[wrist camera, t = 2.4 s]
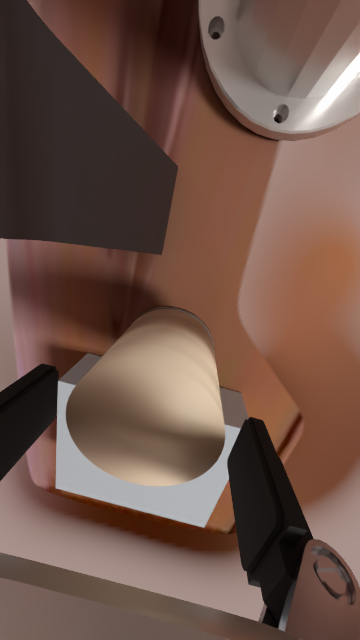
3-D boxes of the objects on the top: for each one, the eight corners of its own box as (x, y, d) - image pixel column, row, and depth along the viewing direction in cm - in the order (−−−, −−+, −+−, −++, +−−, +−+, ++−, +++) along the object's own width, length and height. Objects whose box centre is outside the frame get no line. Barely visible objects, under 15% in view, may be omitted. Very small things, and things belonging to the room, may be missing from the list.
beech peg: (147, 285, 17) (66, 340, 7) (220, 304, 17) (252, 389, 7) (135, 349, 19) (62, 465, 9) (200, 366, 19) (200, 501, 9)
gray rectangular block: (87, 353, 20) (57, 380, 16) (241, 392, 20) (252, 431, 16) (80, 447, 25) (55, 488, 21) (203, 480, 25) (204, 527, 20)
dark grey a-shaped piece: (56, 228, 16) (-273, 178, 5) (57, 138, 14) (-511, -307, 3) (162, 255, 16) (75, 267, 5) (179, 169, 14) (95, -162, 3)
